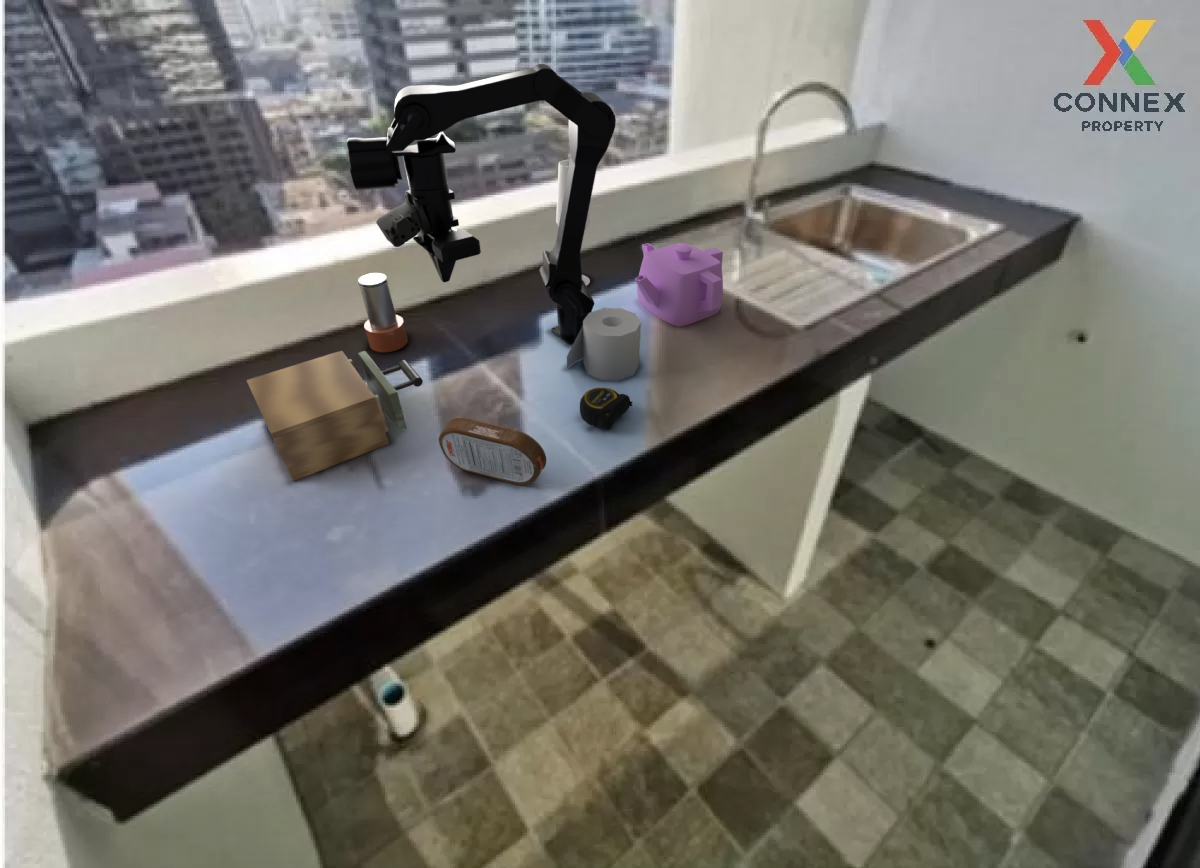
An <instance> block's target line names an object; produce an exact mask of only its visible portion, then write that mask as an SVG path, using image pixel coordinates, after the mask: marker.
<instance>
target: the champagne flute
mask: <svg viewBox="0 0 1200 868" xmlns="http://www.w3.org/2000/svg"><path fill="white" fill-rule="evenodd" d="M569 163H570V159H563V160H560V161H559V162H558V169H557V190H556V191H557V192H556V210H555V211H556V214H555V223H556V226H557V227H558V228H559V222H560V217H561V211H562V205H563V199H564V193H565V187H566V181H567V175H568V169H569ZM590 220H591V219H590V213H589V211H588V216H587V221H586V226H585V230H587V228H588V226H589V224H590ZM582 280H583V281H584V283H585V285H586V287H588V285H589V284H590V282H591V279H590V278H589V277H588V276H587V275H584V274H582Z"/></svg>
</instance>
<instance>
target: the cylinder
mask: <svg viewBox="0 0 1200 868" xmlns="http://www.w3.org/2000/svg"><path fill="white" fill-rule="evenodd" d="M357 283H358V285H359V290H360V294H361V296H362V300H363V304H364V308H365V310H366V314H367V315H366V316H367V318H368V320H369V322H370V325H371V327H372V328H374V329H378V330H382V329H388V328H391V327H393V326H394V325H396V323H397V318H396V315H397V314H396V311H395V307H394V303H393V298H392V294H391V290H390V286H389V281H388V277H387V275H386V274H384V273H381V272H370V273H366V274H363V275H361V276H360V277H359V278H358V279H357Z"/></svg>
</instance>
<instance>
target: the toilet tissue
mask: <svg viewBox="0 0 1200 868" xmlns="http://www.w3.org/2000/svg"><path fill="white" fill-rule="evenodd" d="M641 330H642V321H641V319H640V318H639V316H638V315H637V313H635V312H633V311H629V310H626V309H624V308H622V307H621V308H620V307H602V308H599V309H597V310H592V312H590V313H589V314H588V315H587V316H586V318H585V319H584V320H583V326H582V328H581V330H580V332H579V334H578V336H577V338H576V340H575V342H574V344H572V345H571V348H570V350H569V352H568V353H567V355H566V369H568V368H570V367H571V366H572V365H574V363H576V362H579V361H581V360H583V366H584V369H585V370H586V373H587V374H588V375H589V376H592V377H594V378H596V379H598V380H600V381H610V382H611V381H612V382H614V381H615V382H617V381H623V380H625V379H627V378H630V377H633V376H634V375H635V373H636V371H637V370H638V368H639V365H640V349H641V347H640V346H641V332H642V331H641Z"/></svg>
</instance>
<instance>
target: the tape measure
mask: <svg viewBox="0 0 1200 868" xmlns="http://www.w3.org/2000/svg"><path fill="white" fill-rule="evenodd" d="M633 402H634V401H631V397H630V396H629V395H627V394H625V393H619V392H617V391H616V390H614V389H612V388H609V387H594V388H590V389H588V390H587V391H585V392H584V394H582V396H581V398H580V401H579V414H580V418H581V419H582V420H583V422H585V423H586V424H587V425H589V426H592V427H596V428H600V429H603V430H610V429H612V428H613V427H614V425H615V424H616V422H617V421H619V419H620V418H621V417H622V416H623V415H625V413H626V412H627V411H628V410H629V409H630V407H632V406H633Z"/></svg>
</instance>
